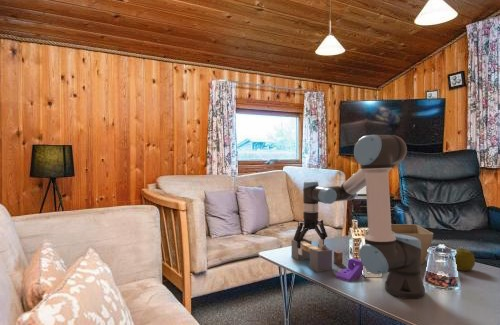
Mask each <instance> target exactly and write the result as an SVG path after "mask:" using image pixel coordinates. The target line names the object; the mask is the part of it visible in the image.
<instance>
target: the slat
mask: <svg viewBox="0 0 500 325" xmlns="http://www.w3.org/2000/svg"><path fill="white" fill-rule="evenodd" d="M310 248H313V249H315V250H317V251H323V250H322V249H320V248H318V246H316V245H313V244H312V245H311V244H309V243H307V242H305V241H304V242H302V249H303V250H305V251H307V252H309V253H310Z"/></svg>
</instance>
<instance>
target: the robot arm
mask: <svg viewBox="0 0 500 325" xmlns="http://www.w3.org/2000/svg"><path fill="white" fill-rule="evenodd" d="M353 148H354V149H353V156H354V157H353V158H354V159H355V161H356V162H357V164H359V165H360V168H359V169H358V170H357V171H356V172H355V173H354V174H353V175H351V176H350V177H349V178H348V179H347V180H345V181H344V182H343V183H342V184H340V185H336V186H333V185H332V186H319V181H316V180H306V181H304V182H303V189H302V191H303V193H302V194H303V195H302V196H303V216H302V217H303V221H298V222H297V228H296V231H295V234H294V237H293V240H294V241H296V242H297V248H298V254H300V255H302V242H301V241H302V239H303V238H305V236H306V235H307V232H309V231H311V230H314V231H315V233H317V235H318V237H319V238H318V244H319V248H320V249H322V247H323V245H324V244H325V240H326V238H328V234H327V230H326V228H325V226H324V220H323V219H319V203H322V204H328V205H331V204H333V203H335V202H343V201H345V202H346V201H352V200H354V199H355V198H356V196H357V193H358V192H359V191H362V189H363V188H365V192H366V194H365V195H366V211H367V230H368V234H366V235H365V236H364V244H362V246H361V247H360V249H359V252H358V253H359V254H358V255H359V260H361V262H362V264H363V268H364V269H365V270H366V271H368V272H369V273H371V274H374V275H383V274H387V273H388V274H387V276H386V280H385V281H384V290H385V291H386V292H387V293H389V294H390V295H393V296H394V297H398V298H402V299H408V300H418V299H422V298H423V297H425V295H426V288H425V286H424V283H423V279H422V275H421V265H422V264H421V249H422V248H421V241H420V240H419V239H418V238H415V237H412V236H408V235H402V234H392V230H391V224H392V216H391V214H392V213H391V212H392V211H391V197H390V182H389V181H390V180H389V174H390V171H392V169H394V168H395V167H397V166H398V165H399V164H401V162H402V161H403V160H405V158H406V156H407V152H408V148H407V144H406V143H405V140H404V139H402V138H401V137H399V136H398V135H394V134H368V135H363V136H362V137H360V138H359V139H358V141H356V143H355V144H354V147H353Z"/></svg>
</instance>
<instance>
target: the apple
mask: <svg viewBox="0 0 500 325" xmlns="http://www.w3.org/2000/svg"><path fill="white" fill-rule="evenodd" d="M455 250H457V254H456V257H455V258H456V264H457V268H458V269H457V268H456V269H457V270H459V271H463V272H467V271H470V270H471V271H472V270H473V268H474V266H475V264H476V263H475V262H476V257H475V255H474V254H473V252H471V251H470V250H469V249H465V248H456V249H455Z"/></svg>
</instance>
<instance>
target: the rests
mask: <svg viewBox="0 0 500 325" xmlns="http://www.w3.org/2000/svg"><path fill="white" fill-rule="evenodd" d="M323 246H324V247H327V245H326V244H325V243H324V245H323ZM317 248H319V243H318V244H317ZM343 255H344V254H343V252H342V251H340V250H335V251H334V252H333V263H334V264H335V265H337V266H340V265H343V259H344V258H343Z"/></svg>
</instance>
